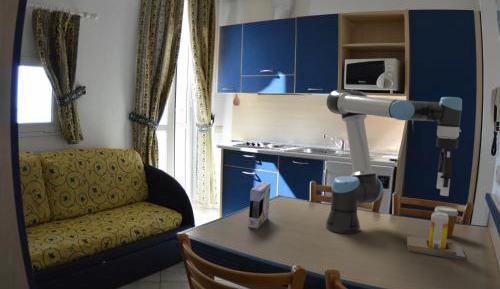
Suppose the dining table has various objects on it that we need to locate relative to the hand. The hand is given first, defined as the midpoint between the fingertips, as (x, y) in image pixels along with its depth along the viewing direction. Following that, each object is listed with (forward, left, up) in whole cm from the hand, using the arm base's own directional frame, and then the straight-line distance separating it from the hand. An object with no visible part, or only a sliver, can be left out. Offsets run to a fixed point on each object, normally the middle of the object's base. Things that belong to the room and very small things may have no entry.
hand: (442, 192), depth 151 cm
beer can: (0, 0, -24) cm, 24 cm away
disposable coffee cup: (+5, +24, -24) cm, 34 cm away
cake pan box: (-75, 0, -24) cm, 78 cm away
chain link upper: (-2, 0, -23) cm, 24 cm away
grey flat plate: (+2, 0, -23) cm, 24 cm away
